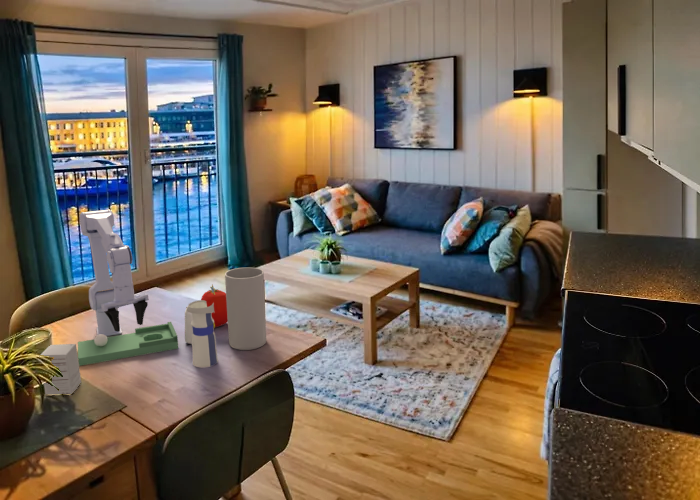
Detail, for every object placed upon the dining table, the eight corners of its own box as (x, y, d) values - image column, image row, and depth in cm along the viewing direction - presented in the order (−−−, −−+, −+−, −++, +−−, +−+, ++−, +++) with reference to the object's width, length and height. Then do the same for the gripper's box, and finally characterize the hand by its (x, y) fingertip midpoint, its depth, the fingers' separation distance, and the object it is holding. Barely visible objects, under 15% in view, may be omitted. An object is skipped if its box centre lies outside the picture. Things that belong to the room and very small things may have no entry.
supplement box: (55, 384, 164) (49, 344, 160) (82, 383, 164) (76, 343, 161) (44, 397, 156) (38, 355, 153) (72, 395, 157) (66, 354, 154)
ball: (94, 344, 184) (93, 333, 183) (107, 342, 186) (106, 331, 185) (95, 349, 181) (93, 337, 180) (108, 347, 183) (107, 335, 182)
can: (199, 345, 189) (199, 311, 187) (181, 343, 190) (181, 309, 188) (207, 339, 195) (207, 305, 193) (190, 337, 196) (190, 304, 194)
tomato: (219, 317, 215) (217, 282, 211) (240, 324, 208) (238, 287, 205) (193, 328, 205) (190, 291, 201) (214, 335, 198) (211, 297, 195)
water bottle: (204, 354, 183) (199, 280, 177) (224, 359, 179) (219, 284, 173) (185, 363, 176) (179, 287, 170) (205, 369, 172) (200, 292, 166)
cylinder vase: (221, 343, 191) (217, 273, 185) (251, 333, 200) (248, 265, 194) (244, 354, 183) (240, 280, 177) (274, 342, 192) (271, 272, 185)
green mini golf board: (78, 348, 187) (77, 336, 186) (172, 333, 200) (171, 321, 199) (79, 365, 175) (77, 352, 174) (178, 348, 188) (177, 335, 186)
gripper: (106, 292, 167) (112, 336, 170) (151, 282, 178) (156, 323, 180) (95, 289, 172) (101, 332, 174) (139, 279, 183) (145, 319, 185)
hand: (128, 327), depth 178 cm, fingers open, 7 cm apart
